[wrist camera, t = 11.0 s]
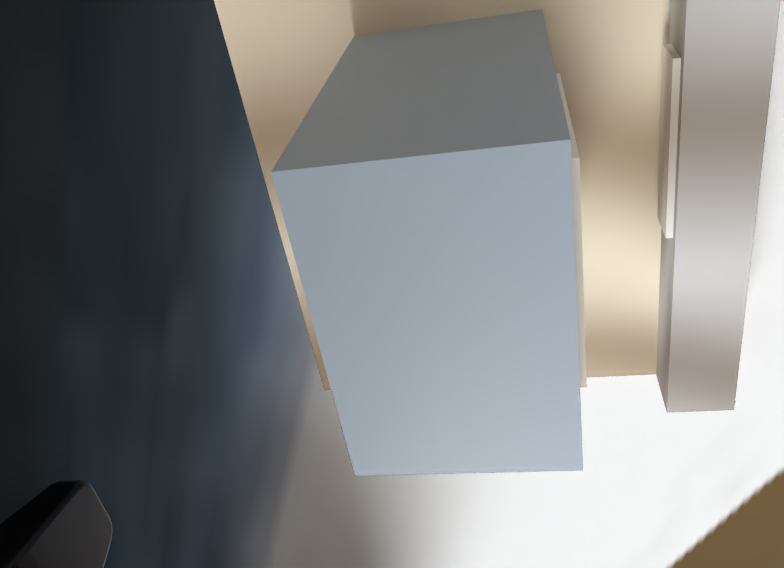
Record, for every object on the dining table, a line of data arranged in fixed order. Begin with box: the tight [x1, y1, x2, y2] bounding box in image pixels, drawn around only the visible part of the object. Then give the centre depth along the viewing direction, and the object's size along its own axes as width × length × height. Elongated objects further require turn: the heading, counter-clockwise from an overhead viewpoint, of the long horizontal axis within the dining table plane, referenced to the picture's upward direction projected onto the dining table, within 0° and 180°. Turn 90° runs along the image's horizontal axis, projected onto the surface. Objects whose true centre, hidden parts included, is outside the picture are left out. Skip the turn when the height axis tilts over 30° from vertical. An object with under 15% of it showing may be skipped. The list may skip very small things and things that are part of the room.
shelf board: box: [214, 0, 781, 412], centre depth 17 cm, size 14×11×2 cm
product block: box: [271, 9, 587, 476], centre depth 14 cm, size 4×6×7 cm
